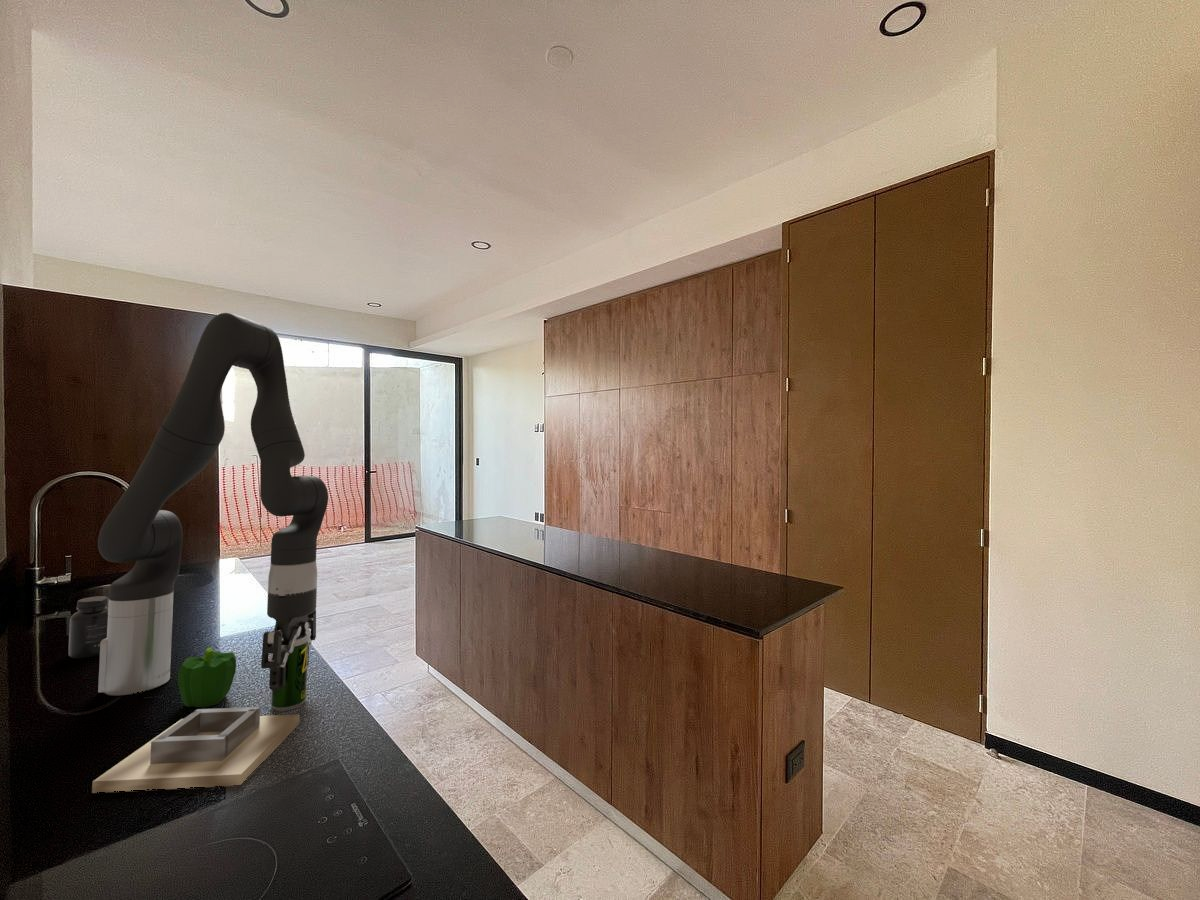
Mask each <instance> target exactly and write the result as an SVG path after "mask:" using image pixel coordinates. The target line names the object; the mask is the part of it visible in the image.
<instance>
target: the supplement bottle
mask: <svg viewBox="0 0 1200 900" xmlns="http://www.w3.org/2000/svg"><path fill="white" fill-rule="evenodd" d="M108 603H109V596H104V595H100V596H99V595H98V596H97V595H96V596H90V597H84V598H81V599H78V600H77V603H76V611H77V612H74V613H73V614H72V615H71V616H70V618H69V631H68V632H69V633H68V635H69V636H68V656H69V657H70V658H72V659H85V658H86V659H87V658H91V657H97V656H100V643H101V641H102V640H103V639H106V638H107V626H108Z"/></svg>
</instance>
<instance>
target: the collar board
mask: <svg viewBox="0 0 1200 900" xmlns="http://www.w3.org/2000/svg"><path fill="white" fill-rule="evenodd" d="M299 725H300V714H282V715H281V714H280V715H279V714H277V715H276V714H275V715H261V707H260V706H257V707H256V706H253V707H251V706H250V707H225V708H224V707H223V708H197V709H195V710H193V712H191V713H190V714H189V715H187V716H185V717H184V718H180V719H179V720H178V721H176V723H174V724H172V725H171V726H169V727H168V728H166V729H165V730H163V731H162V732H161V733H160V734H158V735H157V736H155V737H153V738H152V739H151V740H149V741H148V742H147V743H145V744H144V745H142V746H141V747H139V748H138V749H136V750H135V751H133V752H132V753H131V754H129V755H128V756H127V757H125V758H124V759H122V760H121V761H119V762H118V763H117V764H115V765H114V766H112V767H111V768H110V769H108V770H106V771H105V772H104V773H103V774H100V776H98V777H97V778H96V779H93V780H92V786H91V793H92V794H100V793H99V792H105V793H120V792H119V791H125V792H134V791H133V790H145V791H153V790H152V789H156V790H155V791H158V790H157V789H165V790H178V789H177V788H185V789H191V788H190V787H193V788H192V789H195V788H194V787H205V788H216V787H215V786H218V787H217V788H219V786H222V787H223V786H224V787H234V786H233V785H241V784H242V783H243V781H245V780H247V779H248V778H249V777H250V776H251V775H252V774H253V773H254V772H255V771H256V770H257V769H258V768H259V767H260V766H261V765H262V764H263V763H262V762H263V761H266V760H267V758H269V756H270V755H271V754H272V753H273V752H274V751H275V750H276V749H277V748H278V746H280V745H281V744H282V743H283V741H284V740H285V739H287V737H289V735H290V734H291V733H292V732H293V731H294V730H295V729H296V728H297V727H298V726H299ZM261 763H262V764H261ZM260 764H261V765H260ZM259 765H260V766H259ZM258 766H259V767H258ZM257 767H258V768H257ZM256 768H257V769H256ZM255 769H256V770H255ZM254 770H255V771H254ZM253 771H254V772H253ZM252 772H253V773H252ZM251 773H252V774H251ZM250 774H251V775H250ZM249 775H250V776H249ZM248 776H249V777H248ZM247 777H248V778H247ZM246 778H247V779H246ZM243 784H244V783H243ZM243 784H242V785H243ZM242 785H241V786H242ZM147 789H149V790H147ZM131 790H132V791H131ZM114 791H116V792H114ZM117 791H118V792H117ZM97 792H98V793H97Z"/></svg>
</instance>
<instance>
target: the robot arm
mask: <svg viewBox="0 0 1200 900" xmlns="http://www.w3.org/2000/svg"><path fill="white" fill-rule="evenodd" d="M281 345H282V344H281V341H280V339H279V337H278V334H277V332H275V331H274V330H273V328H270V327H269V326H267V325H264V324H263V323H259V322H257V321H254V320H251V319H249V318H247V317H244V316H240V315H238V314H235V313H232V312H221V313H219V314H217V315H215V316H213V318H212V319H210V321H209V322H208V323H207V325H206V327H205V328H204V330H203V332H202V333H201V336H200V339H199V341H198V344H197V346H196V349H195V352H194V354H193V357H192V360H191V363H190V364H189V368H188V371H187V373H186V376H185V378H184V380H183V382H182V384H181V386H180V388H179V390H178V393H177V395H176V397H175V399H174V401H173V403H172V406H171V407H170V409H169V411H168V413H167V414H166V416H165V417H164V419H163V420H162V423H161V425H160V426H159V428H158V429H157V432H156V434H155V435H154V438H153V441H152V443H151V445H150V448H149V449H148V451H147V453H146V455H145V457H144V458H143V460H142V461H141V464H140V466H139V468H138V470H137V471H136V473H135V475H134V476H133V478H132V480H131V481H130V484H129V485H128V486H127V488H126V489H125V491H124V492H123V493H122V495H121V496H120V498H119V500H117V502H116V504H115V505H114V506H113V508H112V510H111V511H110V512H109V514H108V515H107V517H106V518H105V520H104V521H103V523H102V525H101V528H100V530H99V534H98V538H97V549H98V552H99V554H100V556H101V557H102V558H103V559H104V560H106V561H107V562H110V563H115V564H117V563H118V564H122V563H131V562H132V563H133V562H135V565H134V566H133V567H132V568H131V570H129V571H128V572H127V573H126V574H124V575H123V576H121V577H119V578H118V579H116V580H114V581H112V583H110V585H109V587H108V606H107V608H108V626H107V638H106V639H103V640H102V641H101V643H100V655H99V668H98V669H99V670H98V686H97V688H98V690H97V692H98V693H103V694H106V695H107V696H127V695H133V693H134V694H138V693H137V692H139V693H143V692H145V691H146V690H147V691H150V690H153V689H155V688H158V687H160V686H162V685H165V684H166V683H168V682H169V680H170V679H171V662H172V661H171V658H172V639H173V638H172V636H173V615H174V614H173V613H174V611H173V610H174V607H173V606H174V590H175V589H174V588H175V584H176V583H175V582H176V580H177V578H178V576H179V575H180V568H181V556H182V550H183V540H184V539H183V537H184V536H183V534H184V533H183V527H182V523H181V521H180V520H181V519H179V517H178V516H177V515H176V514H175V513H174V512H172V511H169V510H165V509H161V508H162V507H163V505H164V504H165V503H166V502H167V501H168V499H169V498H171V497H172V495H174V494H175V493H177V492H178V490H180V489H181V488H182V487H184V486H185V485H187V483H189V482H190V481H191V480H193V479H194V478H195V477H196V476H198V475H199V474H200V473H201V472H202V471H203V470H204V469H205V468H206V467H207V466H208V465H209V464H210V462H211V461H212V459H213V457H214V455H215V453H216V452H217V451H218V448H219V445H220V444H221V442H222V441H223V438H224V435H225V430H226V429H225V428H226V425H225V418H224V411H223V408H222V407H223V406H222V399H221V393H222V389H223V385H224V383H225V380H226V379H227V375H228V374H229V372H230V370H231V368H232V367H233V366H234V367H236V368H241V369H245V370H248V371H249V373H250V374H251V377H252V378H253V381H254V382H255V386H256V393H257V395H256V400H255V404H254V407H253V409H252V413H251V417H250V430H251V431H250V432H251V435H252V438H253V439H252V440H253V441H254V445H255V449H256V452H257V454H258V457H259V460H260V463H259V464H260V468H259V473H260V475H259V476H260V477H259V478H260V480H259V482H260V483H259V485H260V486H259V492H260V493H259V494H260V495H259V496H260V500H261V504H262V506H263V507H264V508H265V510H266V511H267V512H268V513H269V514H271V515H273V516H275V517H289V516H290V517H292V519H291V522H290V524H289V525H287V526H286V527H284V528H282V529H279V530H277V531H275V532H274V533H273V535H272V538H271V543H270V545H271V547H270V566H269V572H268V579H267V582H268V583H267V584H268V585H267V601H266V602H267V605H266V607H267V608H266V609H267V610H266V614H267V617H269V618H271V619H273V620H275V623H274V629H273V630H269V631H268V630H267V631H264V632H263V636H262V646H261V647H262V650H261V665H260V667H261V669H269V682H268V683H269V686H268V687H269V690H270V691H271V690H281V689H283V688H284V687H285V675H286V666H285V665H286V661H287V658H288V655H289V654H291V653H292V652H293V649H294V646H295V643H296V640H297V638H298V637H300V636H301V634H304V633H306V634H307V638H308V663H307V668H308V667H309V664H310V663H309V662H310V647H311V646H312V641H315V640H316V638H317V593H318V590H317V589H318V588H317V587H318V567H317V545H318V542H317V540H318V537H319V533H320V530H321V527H322V524H323V521H324V518H325V515H326V511H327V508H328V504H329V492H328V489H327V486H326V483H325V482H324V481H323V480H322V479H321V478H319V476H318V477H317V476H313V475H299V476H298V475H295V476H293V475H292V474H291V468H294V467H297V466H298V465H299V464H301V463H303V461H304V460H305V456H306V454H305V449H304V447H303V443H302V440H301V437H300V434H299V432H298V429H297V425H296V422H295V421H294V416H293V413H292V409H291V402H290V399H289V397H290V396H289V390H288V389H289V388H288V383H287V376H286V370H285V368H286V367H285V362H284V361H285V360H284V355H283V349H282V346H281ZM282 645H288V646H287V647H282ZM281 654H283V655H282V658H281ZM142 691H143V692H142ZM147 691H146V692H147Z"/></svg>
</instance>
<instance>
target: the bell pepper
mask: <svg viewBox="0 0 1200 900" xmlns="http://www.w3.org/2000/svg"><path fill="white" fill-rule="evenodd" d="M236 668H237V657H236V656H235V654H234V652H233V651H232V652H230V651H229V652H221V651H217V650H216V651H214V649H213V648H212V647H207V648H206V649H205V651H204V656H203V657H202V656H189V657H187V658H186V659H184V661H183V663H182V664H181V665H180V667H179V669H178V671H177V684H178V690H179V694H180V698H181V702H182V703H183V705H184V706H185V707H195V708H207V707H213V706H214V705H217V704H220V702H222V701H223V700H224V699H225V698H226V697H227V695H228V693H229V692H230V689H231V687H232V685H233V681H234V678H235V674H236Z"/></svg>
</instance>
